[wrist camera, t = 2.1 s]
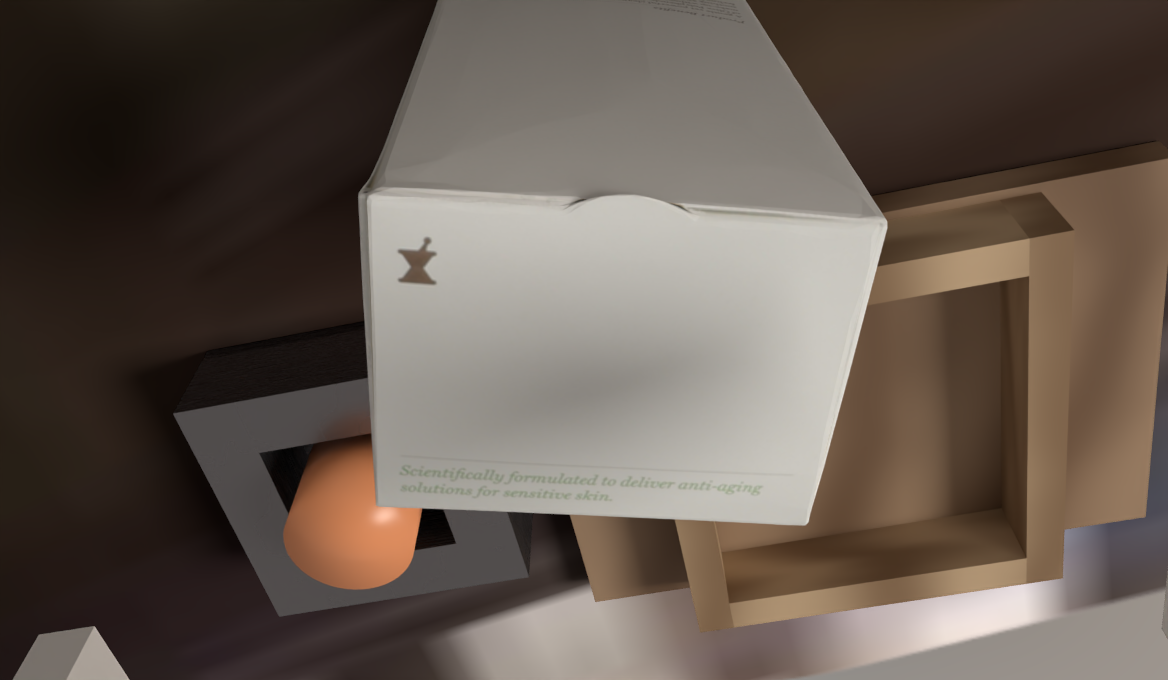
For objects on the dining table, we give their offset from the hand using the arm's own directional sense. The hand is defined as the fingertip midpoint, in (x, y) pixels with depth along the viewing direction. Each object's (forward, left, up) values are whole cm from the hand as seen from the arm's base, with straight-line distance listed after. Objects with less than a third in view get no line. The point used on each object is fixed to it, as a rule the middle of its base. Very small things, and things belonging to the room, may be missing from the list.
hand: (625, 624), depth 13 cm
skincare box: (0, 0, -21) cm, 21 cm away
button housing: (-10, -11, -21) cm, 25 cm away
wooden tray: (+6, -12, -21) cm, 25 cm away
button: (-10, -11, -19) cm, 24 cm away
